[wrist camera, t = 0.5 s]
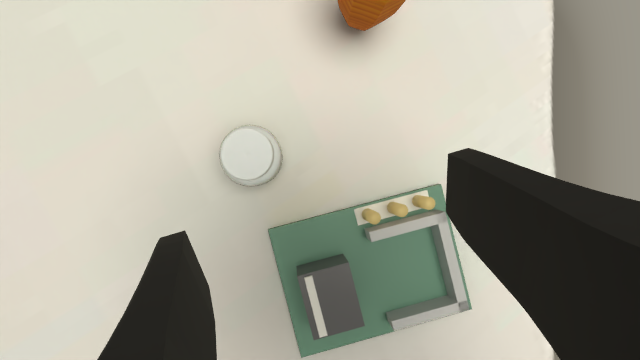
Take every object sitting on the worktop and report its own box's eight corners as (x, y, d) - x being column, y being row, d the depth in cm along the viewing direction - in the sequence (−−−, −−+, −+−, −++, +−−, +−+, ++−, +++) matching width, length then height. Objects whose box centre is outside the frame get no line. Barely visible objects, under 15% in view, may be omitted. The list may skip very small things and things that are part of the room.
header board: (469, 306, 37) (488, 321, 33) (301, 354, 36) (302, 374, 32) (438, 184, 36) (454, 185, 33) (268, 229, 35) (265, 235, 32)
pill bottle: (277, 127, 35) (273, 114, 28) (286, 179, 35) (285, 181, 28) (225, 136, 35) (206, 126, 27) (234, 188, 35) (218, 192, 27)
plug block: (357, 310, 35) (365, 327, 32) (311, 323, 35) (314, 342, 31) (342, 253, 35) (349, 263, 31) (296, 266, 35) (297, 277, 31)
